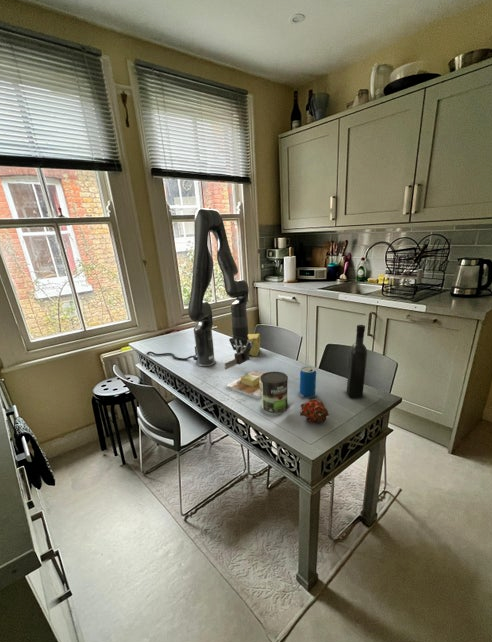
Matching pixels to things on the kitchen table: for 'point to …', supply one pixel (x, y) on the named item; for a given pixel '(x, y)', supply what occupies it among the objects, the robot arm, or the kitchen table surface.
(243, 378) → the butter
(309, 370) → the beverage can
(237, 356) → the knife
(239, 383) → the board
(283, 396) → the coffee can
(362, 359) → the wine bottle
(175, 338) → the kitchen table surface
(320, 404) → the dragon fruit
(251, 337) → the cheese
